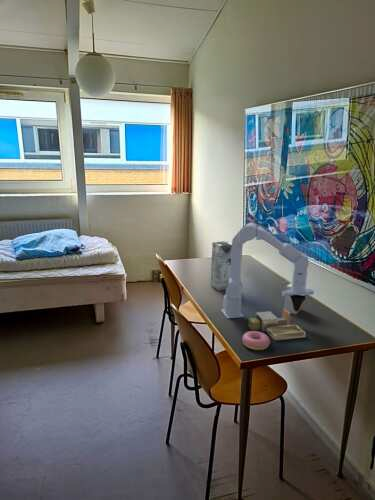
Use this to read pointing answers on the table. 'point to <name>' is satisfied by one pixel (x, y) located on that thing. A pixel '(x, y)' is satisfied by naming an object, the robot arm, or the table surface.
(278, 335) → the beige tray
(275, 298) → the table surface
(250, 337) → the doughnut
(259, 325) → the olive rectangular pillar
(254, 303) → the table surface
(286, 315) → the salmon pink block
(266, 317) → the socket sleeve
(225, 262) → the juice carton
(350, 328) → the table surface
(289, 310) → the small box
